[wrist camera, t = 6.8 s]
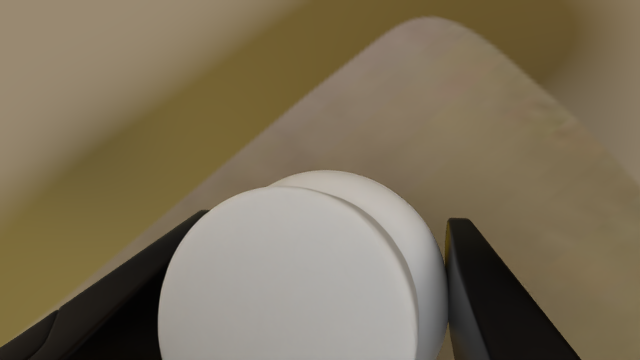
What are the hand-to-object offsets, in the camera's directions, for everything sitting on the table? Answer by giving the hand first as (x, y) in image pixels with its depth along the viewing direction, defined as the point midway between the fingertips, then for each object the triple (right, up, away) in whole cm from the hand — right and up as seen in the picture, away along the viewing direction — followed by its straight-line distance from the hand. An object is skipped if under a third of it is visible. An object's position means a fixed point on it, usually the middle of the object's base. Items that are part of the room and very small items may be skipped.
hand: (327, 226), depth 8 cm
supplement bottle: (+2, -2, +6) cm, 7 cm away
